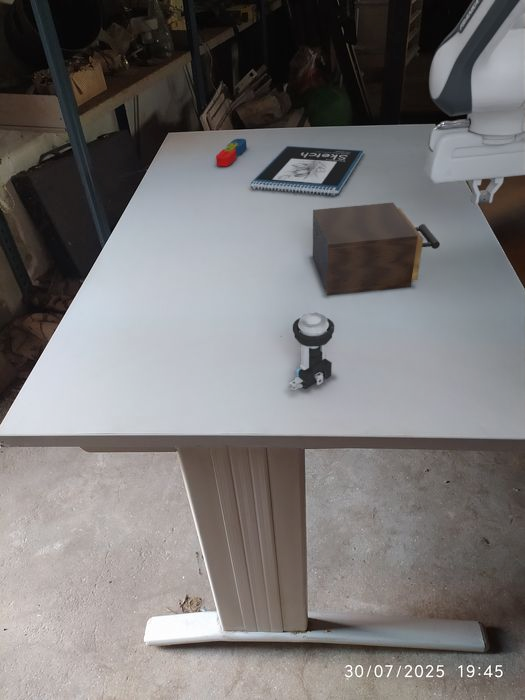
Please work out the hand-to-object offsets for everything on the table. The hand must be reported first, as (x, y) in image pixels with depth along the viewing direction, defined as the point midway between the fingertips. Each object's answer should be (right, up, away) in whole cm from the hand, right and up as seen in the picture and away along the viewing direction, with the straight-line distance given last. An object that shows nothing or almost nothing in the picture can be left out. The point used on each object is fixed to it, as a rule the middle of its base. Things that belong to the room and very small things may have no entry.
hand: (481, 202), depth 91 cm
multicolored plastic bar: (-45, +28, +59) cm, 79 cm away
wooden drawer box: (-20, -11, +6) cm, 23 cm away
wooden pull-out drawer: (-16, -10, +6) cm, 19 cm away
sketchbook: (-25, +21, +47) cm, 57 cm away
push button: (-31, -29, -17) cm, 46 cm away
